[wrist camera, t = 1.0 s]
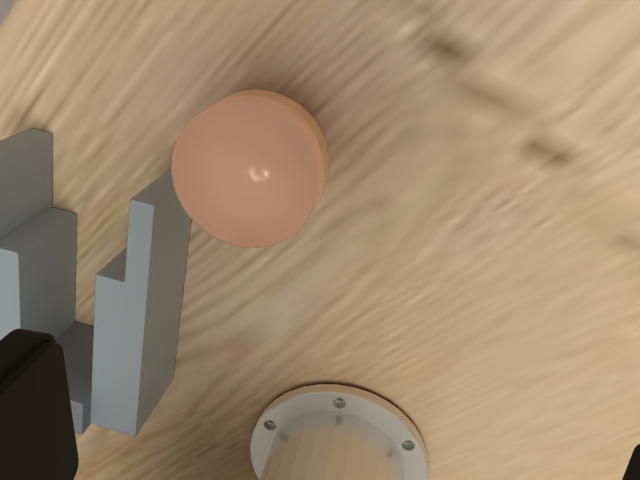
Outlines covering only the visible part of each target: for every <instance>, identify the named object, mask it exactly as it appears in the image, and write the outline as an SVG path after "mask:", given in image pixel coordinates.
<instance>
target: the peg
mask: <svg viewBox="0 0 640 480" xmlns="http://www.w3.org/2000/svg"><path fill="white" fill-rule="evenodd" d="M171 172H172V179H173V184H174V188H175V191H176V194H177V196H178V199H179V201H180V203H181V204H182V206H183V208H184V210H185V211H186V212H187V214H188V215H189V217H190V218H191V219H192V220H193V221H194V222H195V223H196V224H197V225H198V226H199V227H200V228H201V229H203V230H204V231H205V232H207V233H208V234H209V235H211V236H213V237H215V238H216V239H218V240H220V241H223V242H225V243H228V244H231V245H235V246H239V247H246V248H259V247H266V246H271V245H274V244H277V243H280V242H282V241H284V240H286V239H288V238H289V237H291V236H292V235H294V234H295V233H296V232H297V231H298V230H299V229H300V228H301V227H302V226H303V225H304V224H305V222H306V221H307V220H308V218H309V216H310V215H311V213H312V211H313V209H314V207H315V205H316V203H317V201H318V199H319V198H320V196H321V194H322V192H323V190H324V187H325V185H326V182H327V178H328V174H329V152H328V147H327V143H326V140H325V137H324V135H323V133H322V131H321V129H320V127H319V125H318V124H317V122H316V121H315V120H314V118H313V117H312V116H311V115H310V113H309V112H308V111H306V110H305V109H304V108H303V107H302V106H301V105H299V104H298V103H297V102H295V101H294V100H292V99H290V98H288V97H286V96H284V95H282V94H279V93H276V92H272V91H267V90H245V91H240V92H237V93H234V94H232V95H229V96H227V97H225V98H224V99H222V100H220V101H219V102H217V103H215V104H213V105H212V106H210V107H208V108H207V109H205V110H203V111H202V112H200V113H199V114H197V115H196V116H195V117H194V118H192V119H191V120H190V121H189V122H188V123H187V125H186V126H185V127H184V128H183V130H182V131H181V133H180V135H179V136H178V139H177V141H176V143H175V146H174V150H173V154H172V162H171Z"/></svg>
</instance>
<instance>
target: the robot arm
mask: <svg viewBox="0 0 640 480" xmlns="http://www.w3.org/2000/svg"><path fill="white" fill-rule="evenodd" d="M250 458H251V461H252V465H253V469H254V471H255V473H256V475H257V477H258V479H259V480H427V473H428V460H427V452H426V448H425V445H424V442H423V440H422V437H421V435H420V434H419V432H418V430H417V429H416V427H415V426H414V424H413V423H412V422H411V421H410V420H409V419H408V418H407V417H406V416H405V414H404V413H403V412H402V411H400V410H399V409H398V408H396V407H395V406H394V405H392V404H391V403H389V402H388V401H386V400H384V399H382V398H380V397H379V396H377V395H375V394H373V393H370V392H367V391H364V390H361V389H358V388H355V387H349V386H344V385H338V384H318V385H311V386H304V387H301V388H298V389H295V390H292V391H289V392H287V393H285V394H284V395H282V396H280V397H278V398H277V399H275V400H274V401H273V402H272V403H271V404H270V405H269V406H267V407H266V408H265V410H264V411H263V413H262V414H261V416H260V417H259V419H258V421H257V424H256V426H255V428H254V431H253V434H252V438H251V443H250ZM77 469H78V453H77V445H76V438H75V431H74V424H73V417H72V409H71V402H70V395H69V388H68V381H67V373H66V366H65V359H64V352H63V348H62V346H61V345H60V344H57V343H56V341H55V338H54V337H53V336H52V335H51V334H49V333H43V332H38V331H32V330H26V329H14V330H13V331H11V332H10V333H8V334H7V335H6V336H5V337H4V338H3V339H1V340H0V480H73V479H74V477H75V475H76V472H77ZM622 480H640V444H638V445H637V446H636V447H635V449H634V451H633V454H632V456H631V459H630V461H629V464H628V466H627V469H626V472H625V474H624V477H623V479H622Z"/></svg>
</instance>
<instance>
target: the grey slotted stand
mask: <svg viewBox="0 0 640 480" xmlns="http://www.w3.org/2000/svg"><path fill="white" fill-rule="evenodd" d="M190 226H191V218H190V217H189V215H188V214H187V212H186V211H185V210H184V208H183V206H182V204H181V203H180V201H179V199H178V196H177V194H176V191H175V188H174V184H173V179H172V172H171V169H170V170H169V171H168V172H166V173H165V174H164V175H162V176H161V177H159V178H158V179H157V180H155V181H154V182H153V183H151V184H150V185H149V186H147V187H146V188H145V189H143V190H142V191H141V192H139V193H138V194H137V195H135V196H134V197H133V198H131V199H130V207H129V224H128V240H127V247H126V248H125V249H124V250H123V251H122V252H121V253H119V254H118V255H117V256H116V257H115V258H114V259H113V260H112V261H110V262H109V263H108V264H107V265H106V266H105V267H104V268H103V269H101V270H100V271H99V272H98V273H97V274H96V282H95V310H94V327H93V326H89V325H85V324H82V323H78V322H75V291H76V237H77V214H76V213H72V212H69V211H65V210H61V209H57V208H54V207H52V133H49V132H45V131H41V130H37V129H34V128H32V129H29V130H27V131H24V132H22V133H19V134H16V135H14V136H11V137H9V138H6V139H4V140H1V141H0V340H1V339H3V338H4V337H5V336H6V335H7V334H8V333H10V332H11V331H13V330H14V329H26V330H32V331H38V332H43V333H49V334H51V335H52V336H53V337H54V338H55V341H56V343H57V344H60V345H61V346H62V348H63V352H64V359H65V366H66V373H67V381H68V388H69V395H70V402H71V409H72V417H73V424H74V431H75V433H78V434H81V435H82V434H83V433H84V431H85V430H86V429H87V427H88V426H89V425H90V424H93V425H97V426H100V427H104V428H107V429H110V430H114V431H117V432H121V433H124V434H127V435H131V436H134V437H135V436H136V435H137V433H138V432H139V430H140V429H141V427H142V426H143V424H144V423H145V421H146V420H147V418H148V416H149V415H150V413H151V412H152V410H153V409H154V407H155V406H156V404H157V403H158V401H159V399H160V398H161V396H162V395H163V393H164V392H165V390H166V389H167V387H168V386H169V384H170V382H171V381H172V379H173V377H174V368H175V360H176V351H177V342H178V333H179V324H180V315H181V306H182V297H183V288H184V280H185V271H186V262H187V253H188V244H189V235H190Z"/></svg>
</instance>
